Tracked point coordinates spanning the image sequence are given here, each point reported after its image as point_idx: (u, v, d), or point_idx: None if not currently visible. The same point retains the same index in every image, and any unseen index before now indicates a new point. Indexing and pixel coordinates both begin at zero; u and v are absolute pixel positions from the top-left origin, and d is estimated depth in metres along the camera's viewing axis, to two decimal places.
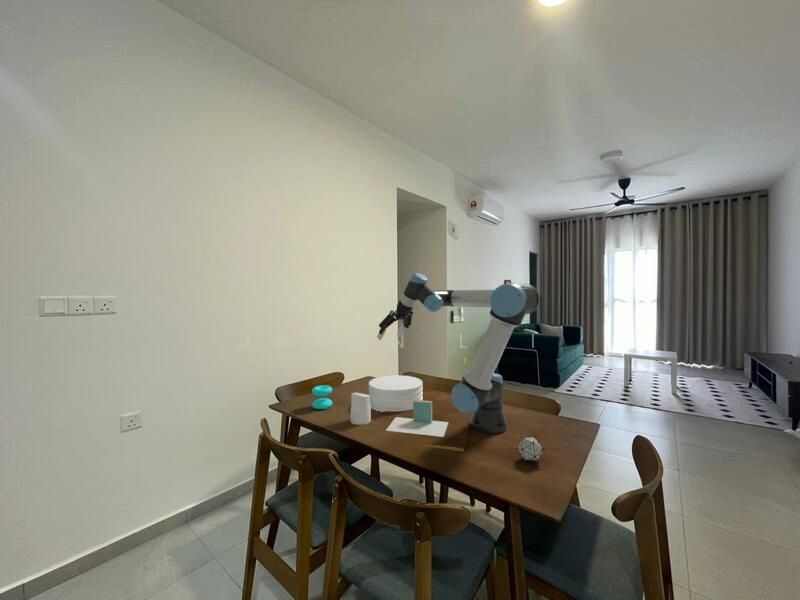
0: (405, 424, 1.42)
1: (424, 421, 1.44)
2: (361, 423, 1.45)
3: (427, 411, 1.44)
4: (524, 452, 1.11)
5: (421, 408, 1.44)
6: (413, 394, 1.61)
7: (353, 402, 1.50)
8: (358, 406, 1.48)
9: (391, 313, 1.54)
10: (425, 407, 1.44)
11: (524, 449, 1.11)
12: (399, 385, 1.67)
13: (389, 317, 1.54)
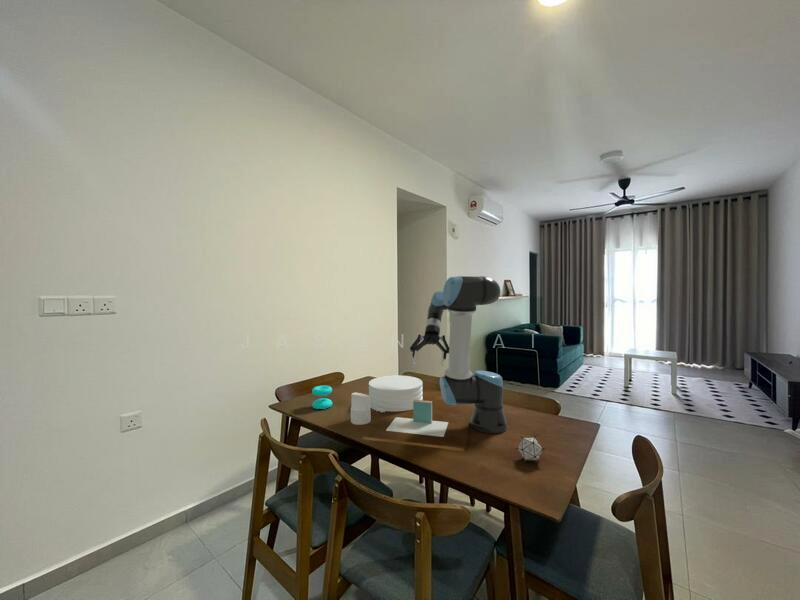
0: (405, 424, 1.42)
1: (424, 421, 1.44)
2: (361, 423, 1.45)
3: (427, 411, 1.44)
4: (524, 452, 1.11)
5: (421, 408, 1.44)
6: (413, 394, 1.61)
7: (353, 402, 1.50)
8: (358, 406, 1.48)
9: None
10: (425, 407, 1.44)
11: (524, 449, 1.11)
12: (399, 385, 1.66)
13: None
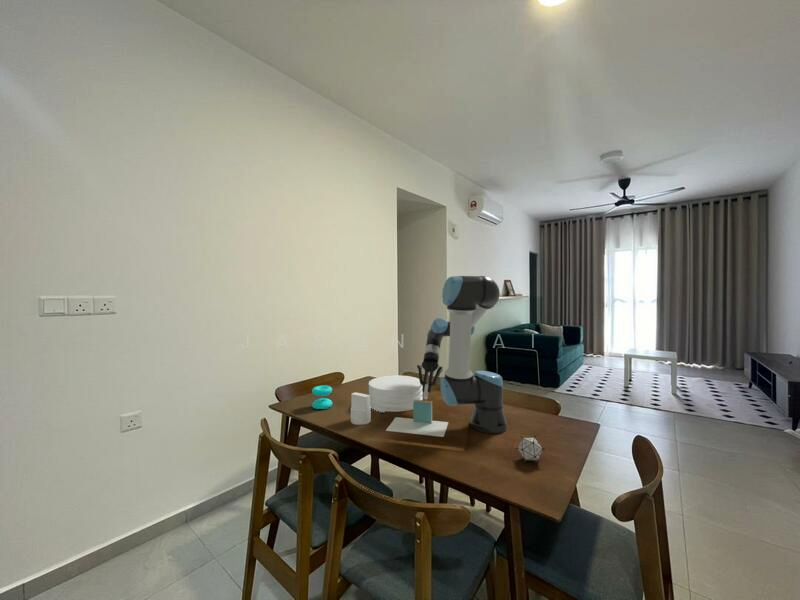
0: (405, 424, 1.42)
1: (424, 421, 1.44)
2: (361, 423, 1.45)
3: (427, 411, 1.44)
4: (524, 452, 1.11)
5: (421, 408, 1.44)
6: (413, 394, 1.61)
7: (353, 402, 1.50)
8: (358, 406, 1.48)
9: None
10: (425, 407, 1.44)
11: (524, 449, 1.11)
12: (399, 385, 1.66)
13: None
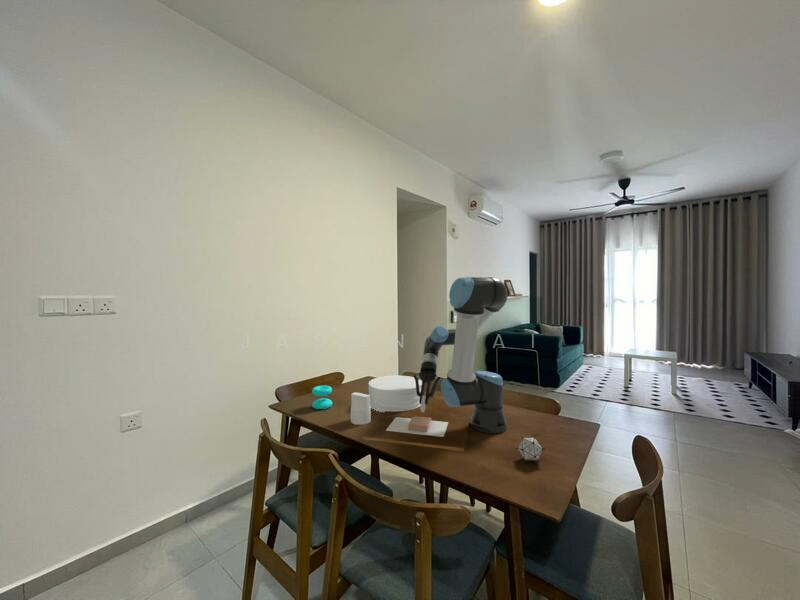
0: (405, 424, 1.42)
1: None
2: (361, 423, 1.45)
3: None
4: (524, 452, 1.11)
5: None
6: (413, 394, 1.61)
7: (353, 402, 1.50)
8: (358, 406, 1.48)
9: None
10: None
11: (524, 449, 1.11)
12: (399, 385, 1.66)
13: None
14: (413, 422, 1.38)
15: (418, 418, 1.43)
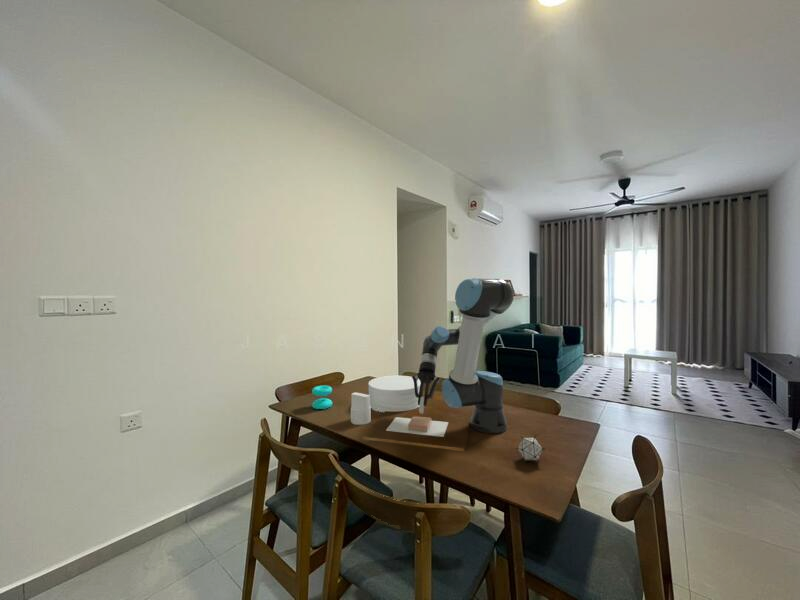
0: (405, 424, 1.42)
1: None
2: (361, 423, 1.45)
3: None
4: (524, 452, 1.11)
5: None
6: (413, 394, 1.61)
7: (353, 402, 1.50)
8: (358, 406, 1.48)
9: (413, 379, 1.53)
10: None
11: (524, 449, 1.11)
12: (399, 385, 1.66)
13: (414, 383, 1.51)
14: (413, 422, 1.38)
15: (418, 418, 1.43)
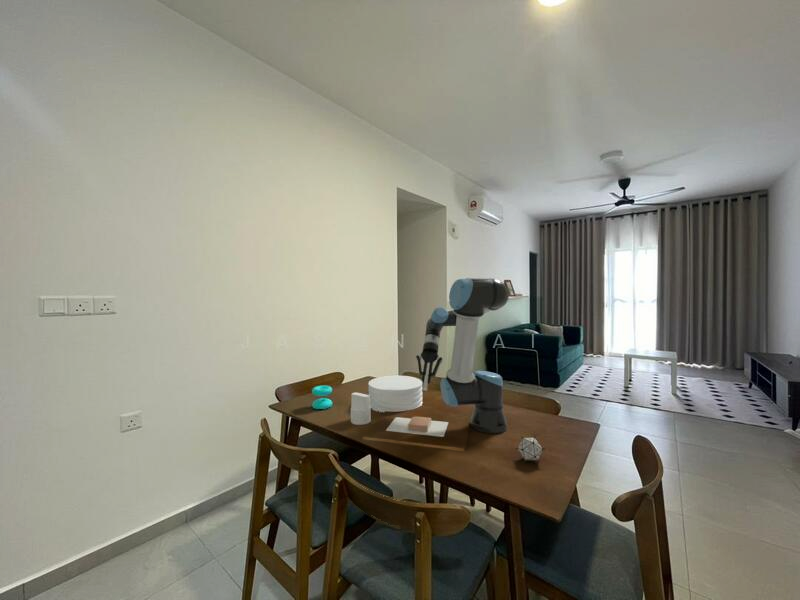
0: (405, 424, 1.42)
1: None
2: (361, 423, 1.45)
3: None
4: (524, 452, 1.11)
5: None
6: (413, 394, 1.61)
7: (353, 402, 1.50)
8: (358, 406, 1.48)
9: None
10: None
11: (524, 449, 1.11)
12: (399, 385, 1.66)
13: (418, 362, 1.58)
14: (413, 422, 1.38)
15: (418, 418, 1.43)
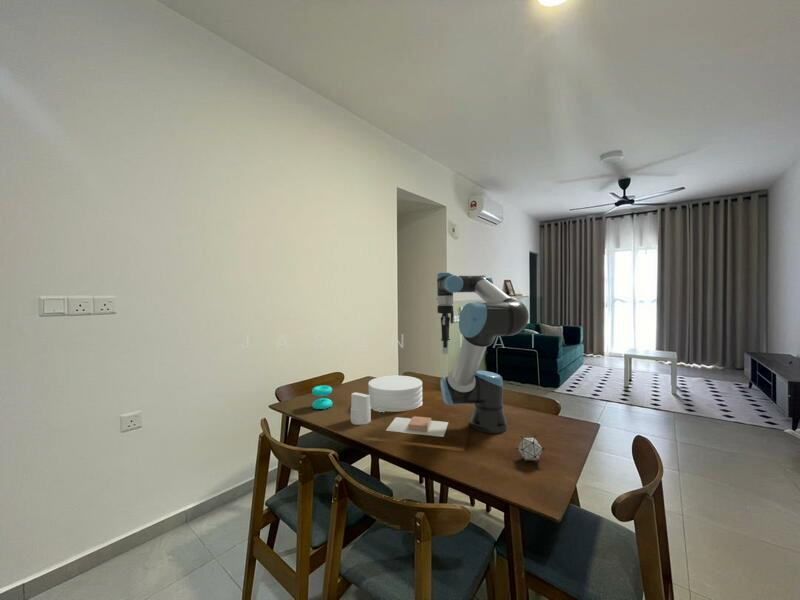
0: (405, 424, 1.42)
1: None
2: (361, 423, 1.45)
3: None
4: (524, 452, 1.11)
5: None
6: (413, 394, 1.61)
7: (353, 402, 1.50)
8: (358, 406, 1.48)
9: (443, 323, 1.53)
10: None
11: (524, 449, 1.11)
12: (399, 385, 1.66)
13: (444, 327, 1.53)
14: (413, 422, 1.38)
15: (418, 418, 1.43)
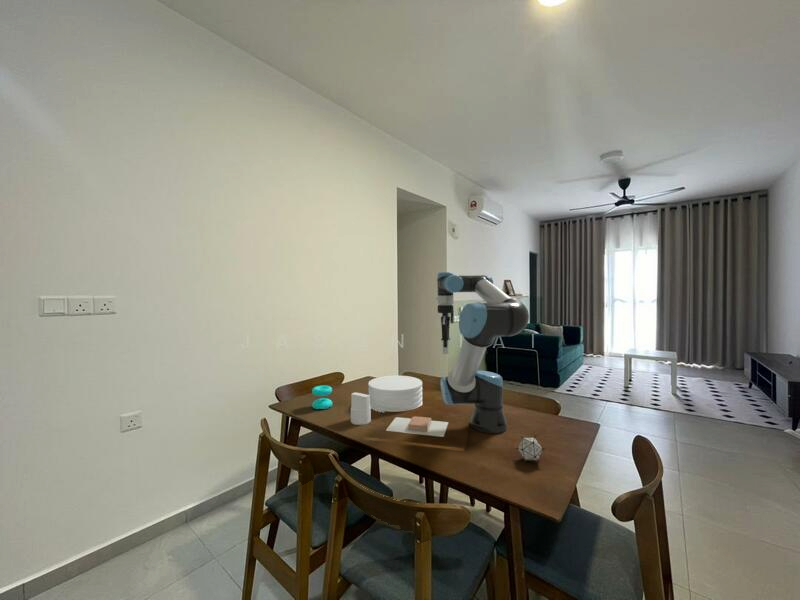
0: (405, 424, 1.42)
1: None
2: (361, 423, 1.45)
3: None
4: (524, 452, 1.11)
5: None
6: (413, 394, 1.61)
7: (353, 402, 1.50)
8: (358, 406, 1.48)
9: (443, 323, 1.52)
10: None
11: (524, 449, 1.11)
12: (399, 385, 1.66)
13: (445, 326, 1.53)
14: (413, 422, 1.38)
15: (418, 418, 1.43)
